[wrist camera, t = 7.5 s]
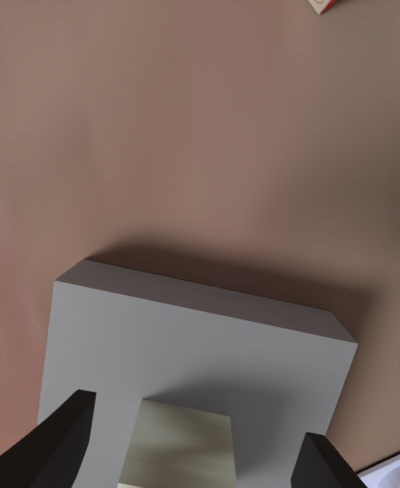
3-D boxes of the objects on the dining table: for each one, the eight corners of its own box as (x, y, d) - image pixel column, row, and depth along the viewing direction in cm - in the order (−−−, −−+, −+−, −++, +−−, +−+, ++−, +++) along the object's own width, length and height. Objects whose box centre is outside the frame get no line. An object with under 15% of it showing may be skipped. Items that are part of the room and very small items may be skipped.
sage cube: (230, 416, 18) (238, 505, 14) (210, 487, 20) (212, 593, 15) (141, 398, 18) (118, 482, 13) (127, 471, 19) (101, 573, 15)
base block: (330, 311, 21) (358, 343, 17) (266, 505, 25) (277, 568, 21) (83, 259, 21) (54, 280, 17) (54, 464, 24) (25, 521, 20)
